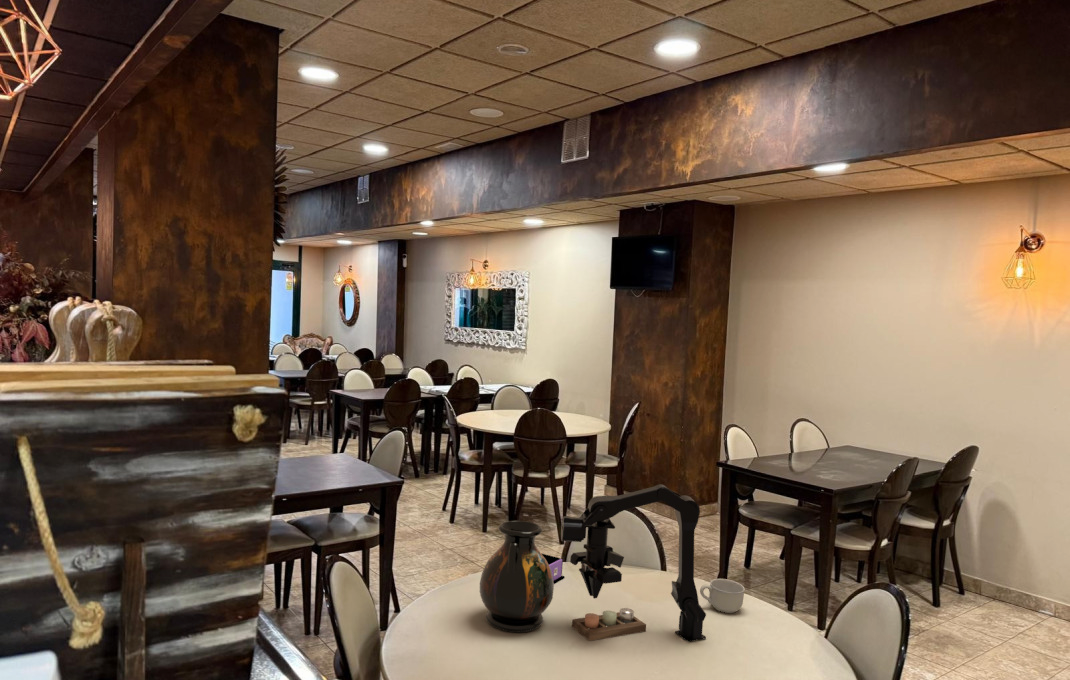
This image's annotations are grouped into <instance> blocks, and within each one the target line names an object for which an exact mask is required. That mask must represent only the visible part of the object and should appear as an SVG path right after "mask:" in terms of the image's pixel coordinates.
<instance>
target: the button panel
mask: <svg viewBox="0 0 1070 680" xmlns="http://www.w3.org/2000/svg"><path fill="white" fill-rule="evenodd" d="M616 613H617V617H616V625H613V626H605V625H604V624H602V617H603V614H597V615H598V616H599V626H598V628H595V629H587V628H586V627H585V626H584V624H585V617H580V618H579V617H578V618H574V619H571V628H573V629H574V630H576V631H577V632H578V633H579V634H580V635H582V636H583V637H585V638H586V639H587V640H588V641H589V642H590V641H596V640H603V639H608V638H615V637H620V636H626V635H627V636H628V635H632V634H637V633H643V632H644V633H645V632H646V630H647V624H646V623H645V622H643V621H641V620H640V619H639V618H638V617H636V616H633V622H632V623H626V624H625V623H622V622H621V621H619V619H620V611H618V612H616Z"/></svg>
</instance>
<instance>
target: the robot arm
mask: <svg viewBox="0 0 1070 680" xmlns="http://www.w3.org/2000/svg"><path fill="white" fill-rule="evenodd" d="M659 502H663V503H665V504H667V505H668V506H670V507H671V508H672V509H674V510H675V511H674V512H675V517H676V522H677V526H678V576H677V578H676V581H675V580H672V581H671V587H672V589H671V592H670V594H671V597H672V598H673V600H674V601H675V603H676V605H677V607H678V608H679V609H680V613H679V620H678V622H679V623H678V630H675V631H674V633H675V634H676V635H678V636H679V637H681V638H682V639H683V640H685V641H687V642H689V643H691V642H696V641H702V640H706V639H707V636H706V635H704V634H703V627H704V625H703V623H704V620H705V619H706V617H707V613H706V612H705V610H704V609H703V607H702V606H701V605H700V603H699V597H698V595H699V594H698V591H697V587H696V583H695V578H694V577H695V531H696V528H697V525H698V523H699V519H700V513H701V509H700V506H699V504H698V503H697V502H696V501H695V500H694V499H693V498H692V497H691V496H689V495H683V494H682V495H680V493H678V492H676V491H673V490H672V489H670V488H668V487H667V486H665V485H664V484H660V483H659V484H657V485H655V486H651V487H648V488H643V489H640V490H636V491H632V492H628V493H624V494H620V495H597V496H594V497H591V499H590V500H589V502H588V505H587V508H586V509H585V510H584V511H583V512H582V514H581V515H580V517H576V516H575V517H572V516H565V515H564V516H563V517H562V518H563V519H562V523H561V526H560V528H561V529H560V539H561V541H562V542H573V543H574V542H575V543H581V542H582V541H584V539H586V543H584V544H583V549H585V550H586V551H579V552H573V553H572V554H571V555H570V562H569V563H570V564H572V565H573V566H577V565H578V563H579V562H580V564H581V566H580V568H578V571H579V572H580V575H581V577H582V579H583V581H584V583H585V586H586V589H587V592H588V594H589V596H590V597H593V599H598V597H599V594H600V592H601V591H602V587H603V585H604V584H605V585H606V584H613V583H621V582H622V581H623V580H622V578H623V574H622V573H621V571H619V570H618V569H616V568H615V567H613V566H616V567H617V568H621V567H622V565H623V562H624V559H625V556H624V555H621V554H620V553H617V552H616V551H614V547H611V546H610V545H608V531H609V529H616V526H615V524H614V522H612V521H611V519H612V518H613V517H615V516H617V515H618V514H620V513H621V512H623V511H627V510H631V509H635V508H638V507H642V506H643V507H644V506H647V505H651V504H655V503H659ZM611 565H613V566H612V567H611Z"/></svg>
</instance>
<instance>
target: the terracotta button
mask: <svg viewBox="0 0 1070 680" xmlns="http://www.w3.org/2000/svg"><path fill="white" fill-rule="evenodd" d="M598 615H599V614H597V613H594V612H593V613H592V612H588V613H585V614H584V618H585V624H584V626H585V627H586V628H587V629H595V628H598V626H599V616H598Z"/></svg>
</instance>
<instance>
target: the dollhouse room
mask: <svg viewBox="0 0 1070 680" xmlns="http://www.w3.org/2000/svg"><path fill="white" fill-rule="evenodd" d="M541 554H542V555H543V557H544V558H545V559H546V561H547V562H548V564H549V566H550V569H551V571H552V575H553V582H554V585H555V584H557V583H559V582H561V581H563V580H564V579H565V576H564V575H563V563H564V562H563V561H564V560H563V558H559V557H557V556H553V555H549V554H545V553H541Z"/></svg>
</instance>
